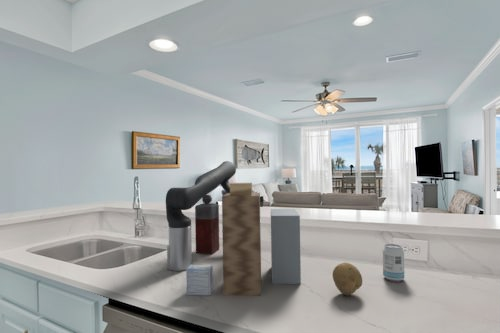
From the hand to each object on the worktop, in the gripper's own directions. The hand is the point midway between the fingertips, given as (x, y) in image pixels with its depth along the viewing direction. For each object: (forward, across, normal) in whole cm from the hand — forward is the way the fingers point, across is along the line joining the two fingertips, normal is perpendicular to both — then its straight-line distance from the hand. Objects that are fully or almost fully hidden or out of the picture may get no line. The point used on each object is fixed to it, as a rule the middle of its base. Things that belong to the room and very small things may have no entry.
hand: (245, 194), depth 115 cm
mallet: (+11, 0, +5) cm, 12 cm away
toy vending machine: (-38, -21, +13) cm, 45 cm away
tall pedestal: (0, 0, +35) cm, 35 cm away
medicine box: (+3, -14, +38) cm, 40 cm away
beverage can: (-8, +54, +31) cm, 63 cm away
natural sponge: (+4, +34, +38) cm, 51 cm away
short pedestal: (-10, +15, +29) cm, 34 cm away
